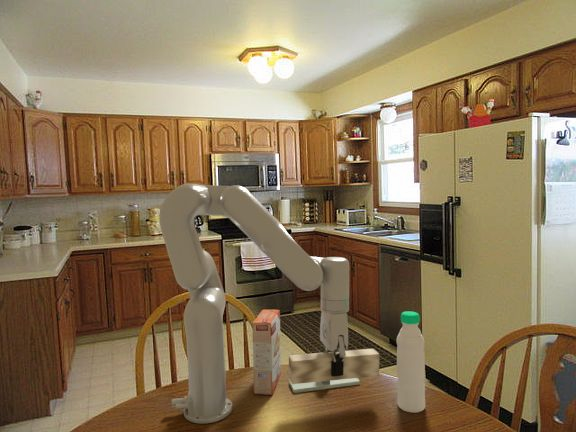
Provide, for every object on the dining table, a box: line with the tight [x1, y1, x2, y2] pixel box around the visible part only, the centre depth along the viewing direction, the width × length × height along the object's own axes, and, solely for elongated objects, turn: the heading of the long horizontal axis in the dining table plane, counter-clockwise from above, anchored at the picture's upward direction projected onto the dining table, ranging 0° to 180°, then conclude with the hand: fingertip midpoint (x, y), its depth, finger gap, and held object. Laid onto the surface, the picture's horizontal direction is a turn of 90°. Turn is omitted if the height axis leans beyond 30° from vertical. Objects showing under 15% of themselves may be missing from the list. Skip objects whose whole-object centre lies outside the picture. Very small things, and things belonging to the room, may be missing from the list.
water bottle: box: [396, 311, 426, 414], centre depth 108 cm, size 7×7×25 cm
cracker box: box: [252, 309, 282, 396], centre depth 123 cm, size 14×6×21 cm, turn 171°
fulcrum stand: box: [288, 378, 361, 394], centre depth 123 cm, size 20×6×6 cm, turn 102°
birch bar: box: [288, 348, 380, 384], centre depth 111 cm, size 24×4×6 cm, turn 102°
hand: (334, 371), depth 111 cm, fingers closed on birch bar, 4 cm apart
